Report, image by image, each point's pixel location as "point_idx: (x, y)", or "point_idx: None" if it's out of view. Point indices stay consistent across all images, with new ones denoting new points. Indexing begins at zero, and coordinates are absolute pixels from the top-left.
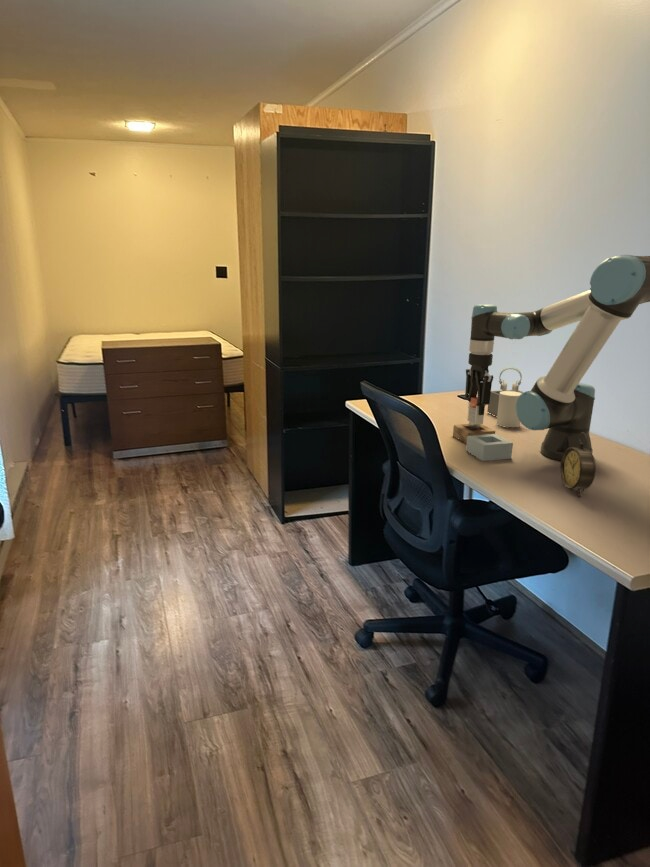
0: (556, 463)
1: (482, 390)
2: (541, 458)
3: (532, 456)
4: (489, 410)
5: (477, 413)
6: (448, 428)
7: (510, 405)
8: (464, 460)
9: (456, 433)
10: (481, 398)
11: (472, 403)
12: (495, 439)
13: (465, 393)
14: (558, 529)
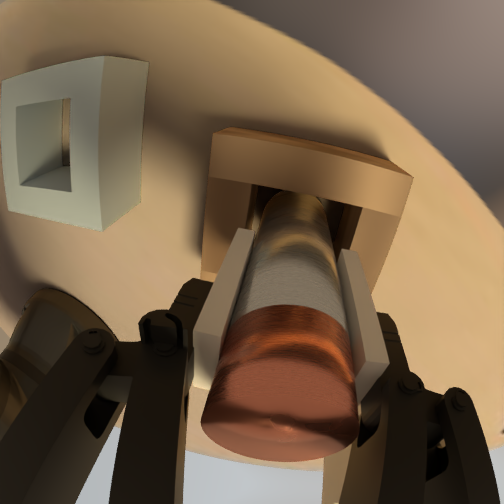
0: (24, 270)
1: (28, 480)
2: (49, 270)
3: (61, 262)
4: None
5: (217, 281)
6: (478, 238)
7: (339, 471)
8: (72, 15)
9: (362, 156)
10: (83, 392)
11: (279, 338)
12: (59, 186)
13: (479, 425)
14: None
